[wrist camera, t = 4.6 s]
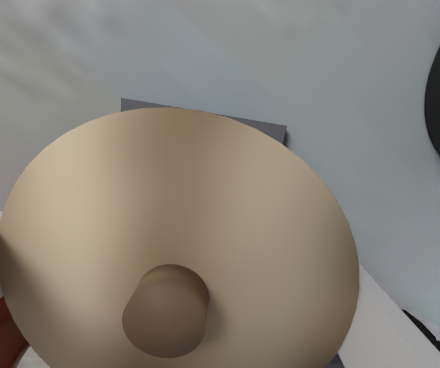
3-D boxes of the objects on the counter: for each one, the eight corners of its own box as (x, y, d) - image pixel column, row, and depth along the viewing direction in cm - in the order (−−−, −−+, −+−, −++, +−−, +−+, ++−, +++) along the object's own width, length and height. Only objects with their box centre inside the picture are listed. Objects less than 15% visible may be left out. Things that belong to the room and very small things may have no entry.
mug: (-22, 250, 21) (-230, 365, 11) (45, 195, 20) (-127, 271, 10) (75, 336, 24) (-26, 490, 14) (141, 292, 23) (79, 429, 13)
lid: (362, 140, 9) (463, 157, 5) (286, 370, 12) (312, 491, 8) (58, 85, 9) (-76, 59, 5) (59, 329, 12) (-24, 429, 8)
